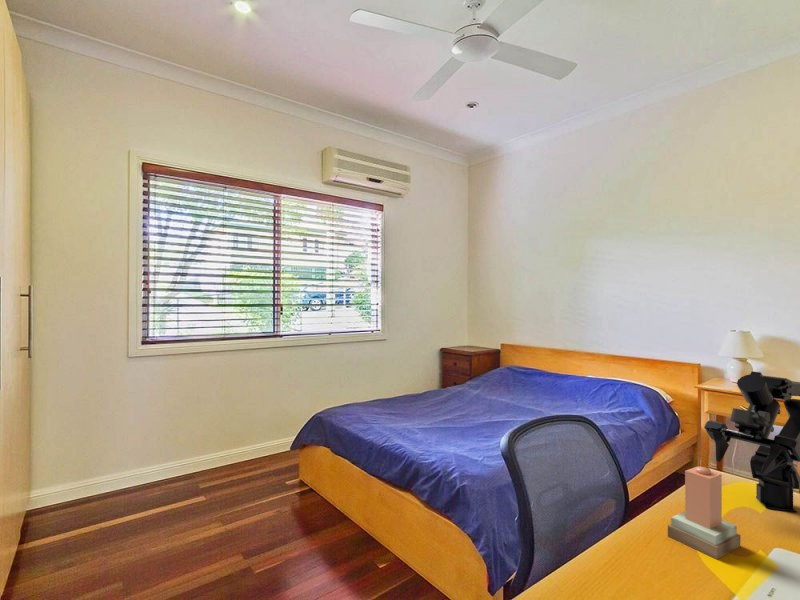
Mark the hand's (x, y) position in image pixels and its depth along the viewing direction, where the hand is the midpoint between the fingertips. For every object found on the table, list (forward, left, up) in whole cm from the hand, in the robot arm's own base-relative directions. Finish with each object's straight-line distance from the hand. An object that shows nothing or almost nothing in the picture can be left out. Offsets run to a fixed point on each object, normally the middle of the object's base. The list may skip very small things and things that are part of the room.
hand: (739, 467), depth 103 cm
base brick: (+11, +12, -14) cm, 21 cm away
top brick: (+11, +12, -9) cm, 18 cm away
